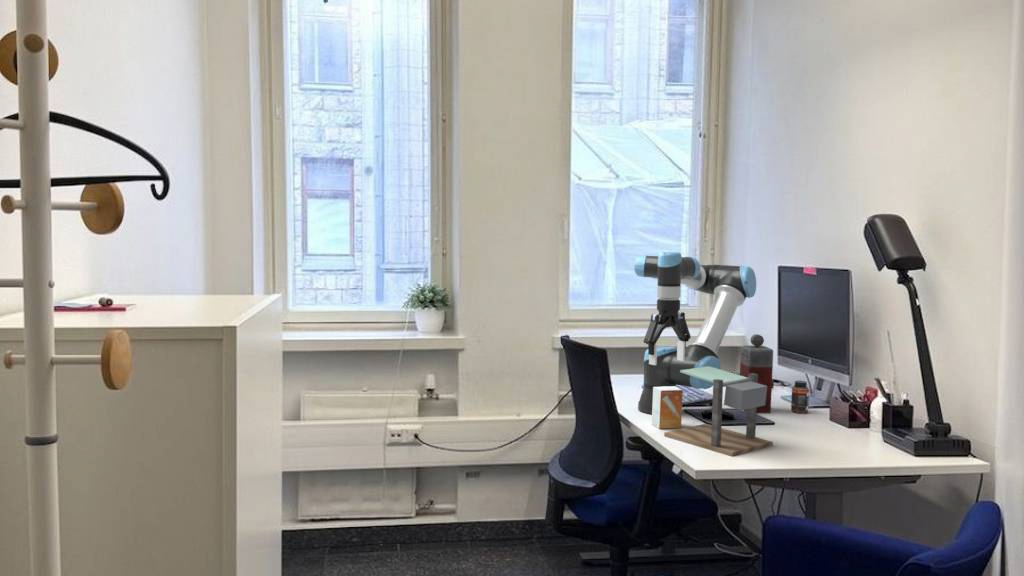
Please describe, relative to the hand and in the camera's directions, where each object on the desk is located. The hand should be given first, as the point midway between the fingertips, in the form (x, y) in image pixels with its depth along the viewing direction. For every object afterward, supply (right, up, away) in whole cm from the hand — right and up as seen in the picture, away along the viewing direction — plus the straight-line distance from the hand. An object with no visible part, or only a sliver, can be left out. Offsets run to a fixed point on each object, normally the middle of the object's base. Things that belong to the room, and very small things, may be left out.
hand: (667, 362), depth 254 cm
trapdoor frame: (+13, -23, -15) cm, 30 cm away
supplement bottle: (+54, -21, +26) cm, 63 cm away
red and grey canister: (+38, -20, +29) cm, 51 cm away
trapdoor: (+14, -9, -17) cm, 23 cm away
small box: (0, -22, +2) cm, 22 cm away
